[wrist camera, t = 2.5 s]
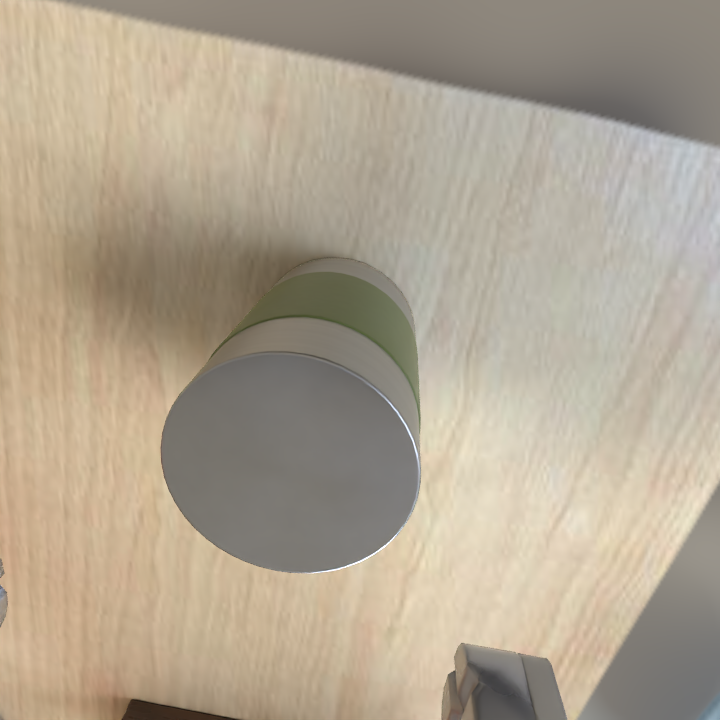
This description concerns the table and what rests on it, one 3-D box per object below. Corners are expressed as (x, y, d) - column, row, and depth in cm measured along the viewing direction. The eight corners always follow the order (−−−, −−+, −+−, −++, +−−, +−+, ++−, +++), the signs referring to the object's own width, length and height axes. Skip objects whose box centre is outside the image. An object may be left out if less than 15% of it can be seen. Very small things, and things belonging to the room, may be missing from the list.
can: (385, 232, 21) (368, 311, 11) (436, 380, 23) (456, 545, 14) (232, 287, 22) (108, 397, 13) (295, 421, 24) (227, 596, 15)
